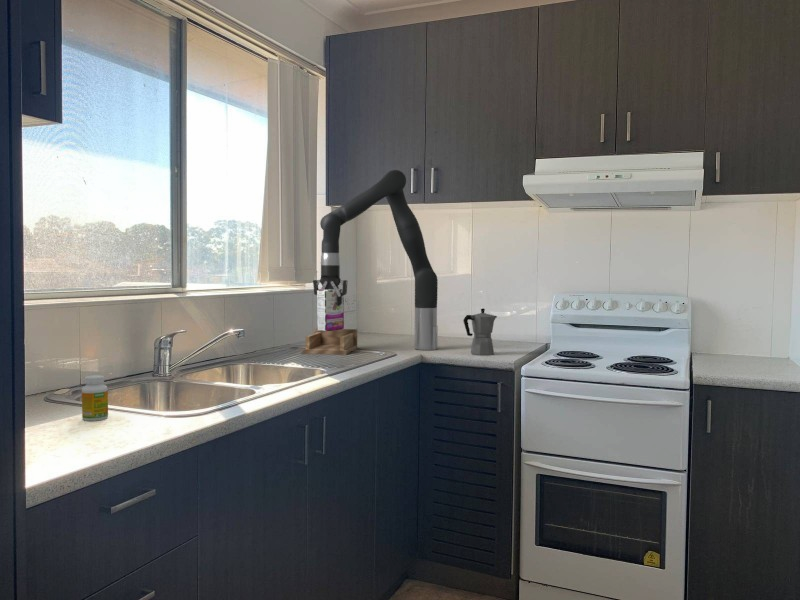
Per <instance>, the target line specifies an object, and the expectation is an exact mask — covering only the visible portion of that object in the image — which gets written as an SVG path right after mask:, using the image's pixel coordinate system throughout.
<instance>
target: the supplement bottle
mask: <svg viewBox="0 0 800 600" xmlns="http://www.w3.org/2000/svg"><path fill="white" fill-rule="evenodd" d="M104 383H105V376H104V375H101V374H96V375H95V374H94V375H92V374H91V375H87V376H85V377H84V384H85V386H83V387H82V388H81V414H82V415H81V417H82V421H86V422H97V421H98V422H99V421H103V420H106V419H107V418H108V417H109V399H108V398H109V397H108V393H109V391H108V390H109V389H108V386H107V385H106V384H104Z"/></svg>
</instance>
